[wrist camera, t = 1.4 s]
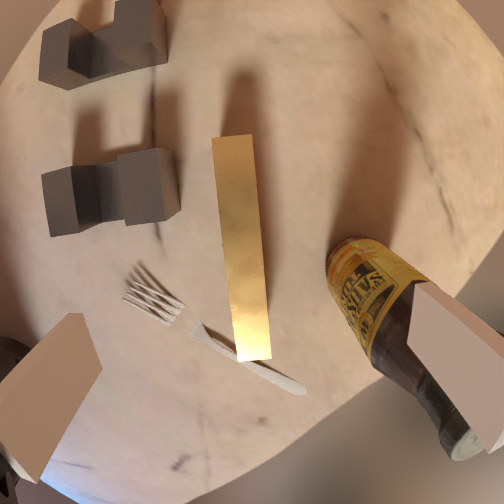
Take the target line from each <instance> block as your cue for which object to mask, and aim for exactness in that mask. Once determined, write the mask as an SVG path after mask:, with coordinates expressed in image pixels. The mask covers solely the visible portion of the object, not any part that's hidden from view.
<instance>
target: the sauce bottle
mask: <svg viewBox="0 0 504 504" xmlns="http://www.w3.org/2000/svg"><path fill="white" fill-rule="evenodd" d="M325 269H326V277H327V283H328V288H329V290H330V292H331V294H332V296H333V298H334V299H335V301H336V303H337V305H338V306H339V308H340V310H341V311H342V313H343V315H344V316H345V318H346V320H347V322H348V324H349V326H350V327H351V329H352V330H353V332H354V334H355V335H356V337H357V339H358V341H359V343H360V344H361V346H362V348H363V350H364V352H365V353H366V355H367V357H368V359H369V361H370V362H371V364H372V366H373V367H374V368H375V369H377V370H378V371H379V372H381V373H382V374H383V375H385V376H386V377H388V378H389V379H390V380H392V381H393V382H395V383H396V384H397V385H399V386H400V387H401V388H403V389H404V390H406V391H407V392H409V393H411V394H412V395H413V396H414V397H416V398H417V400H418V402H419V403H420V404H421V406H422V407H423V408H425V410H426V411H427V413H428V414H429V416H430V418H431V420H432V421H433V423H434V424H435V426H436V427H437V429H438V431H439V439H440V443H441V445H442V447H443V448H444V450H445V451H446V453H447V455H448V456H449V458H450V459H452V460H455V461H462V460H466V459H468V458H470V457H472V456H474V455H476V454H478V453H479V452H481V451H482V450H483V449H485V448H484V446H483V445H482V443H481V442H480V440H479V439H478V437H477V436H476V435H475V433H474V432H473V430H472V429H471V427H470V426H469V425H468V423H467V422H466V420H465V419H464V418H463V416H462V415H461V413H460V412H459V411H458V409H457V408H456V407H455V405H454V404H453V403H452V401H451V400H450V399H449V397H448V396H447V395H446V393H445V392H444V391H443V389H442V388H441V387H440V385H439V384H438V383H437V381H436V380H435V379H434V377H433V376H432V375H431V374H430V372H429V371H428V370H427V368H426V367H425V366H424V365H423V363H422V362H421V361H420V359H419V358H418V357H417V356H416V354H415V353H414V352H413V351H412V349H411V348H410V347H409V346H408V345H407V340H408V334H409V328H410V321H411V314H412V307H413V299H414V290H415V284H419V283H425V282H432V281H431V280H429V279H428V278H427V277H425V276H424V275H423V274H422V273H420V272H419V271H418V270H416V269H415V268H414V267H412V266H411V265H410V264H408V263H407V262H406V261H404V260H403V259H402V258H400V257H399V256H398V255H396V254H395V253H394V252H392V251H391V250H390V249H388V248H387V247H386V246H384V245H383V244H381V243H379V242H377V241H375V240H372V239H370V238H367V237H363V236H355V237H351V238H348V239H346V240H344V241H342V242H341V243H339V244H338V245H337V246H336V248H335V249H334V250H333V251H332V253H331V255H330V256H329V258H328V260H327V265H326V268H325ZM432 283H433V282H432ZM433 284H435V283H433ZM435 285H436V284H435ZM436 286H437V285H436ZM437 287H438V286H437Z"/></svg>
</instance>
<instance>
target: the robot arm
mask: <svg viewBox="0 0 504 504" xmlns="http://www.w3.org/2000/svg"><path fill="white" fill-rule="evenodd" d="M407 345H408V346H409V347H410V348H411V349H412V351H413V352H414V353H415V354H416V356H417V357H418V358H419V359H420V361H421V362H422V363H423V365H424V366H425V367H426V368H427V370H428V371H429V372H430V374H431V375H432V376H433V377H434V379H435V380H436V381H437V383H438V384H439V385H440V387H441V388H442V389H443V391H444V392H445V393H446V395H447V396H448V397H449V399H450V400H451V401H452V403H453V404H454V405H455V407H456V408H457V409H458V411H459V412H460V413H461V415H462V416H463V418H464V419H465V420H466V422H467V423H468V425H469V426H470V427H471V429H472V430H473V432H474V433H475V435H476V436H477V437H478V439H479V440H480V442H481V443H482V445H483V446H484V448H485V449H486V450H487V452H488V454H489V453H491V452H493V451H494V450H496V449H498V448H499V447H501V446H503V445H504V334H502V333H500V332H498V331H495V330H494V329H492V328H491V327H490V326H489V325H487V324H486V323H485V322H484V321H482V320H481V319H480V318H478V317H477V316H476V315H474V314H473V313H472V312H471V311H469V310H468V309H467V308H465V307H464V306H463V305H462V304H460V303H459V302H458V301H456V300H455V299H454V298H452V297H451V296H450V295H448V294H447V293H446V292H444V291H443V290H441V289H440V288H439V287H437V286H436V285H435V284H433V283H432V282H425V283H419V284H415V290H414V299H413V307H412V314H411V321H410V328H409V334H408V340H407ZM101 371H102V366H101V364H100V361H99V359H98V356H97V353H96V351H95V348H94V345H93V342H92V339H91V337H90V334H89V331H88V328H87V325H86V322H85V318H84V315H83V313H69V314H68V315H66V316H65V317H64V318H63V319H62V320H61V321H60V322H59V323H58V324H57V325H56V326H55V327H54V328H53V329H52V330H51V331H50V332H49V333H48V334H47V335H46V336H45V337H44V338H43V339H42V340H41V341H40V342H39V343H38V344H37V345H36V346H35V347H34V348H33V349H32V350H30V349H29V348H27V347H26V346H24V345H22V344H21V343H19V342H17V341H14V340H11V339H7V338H0V504H18V501H17V497H16V492H15V487H16V485H17V483H18V481H19V479H20V477H22V478H24V479H26V480H29V481H31V482H34V483H36V484H37V482H38V481H39V479H40V477H41V475H42V473H43V471H44V469H45V467H46V465H47V463H48V461H49V460H50V458H51V456H52V454H53V452H54V450H55V449H56V447H57V445H58V443H59V441H60V440H61V438H62V436H63V434H64V432H65V431H66V429H67V427H68V425H69V424H70V422H71V420H72V418H73V417H74V415H75V413H76V412H77V410H78V408H79V407H80V405H81V403H82V402H83V400H84V398H85V397H86V395H87V393H88V392H89V390H90V388H91V387H92V385H93V383H94V382H95V380H96V379H97V377H98V375H99V374H100V372H101Z"/></svg>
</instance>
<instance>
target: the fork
mask: <svg viewBox="0 0 504 504" xmlns="http://www.w3.org/2000/svg"><path fill="white" fill-rule="evenodd" d="M134 283H135V284H137V285H139V286H141V287H143V288H145V289H147V290H149V291H151V292H153V293H155V294H157V295H159V296H162V297H164V298H166V299H168V300H170V301H172V302H174V303H176V304H177V305H179V306H180V308H184V307H185V304H183V303H182V302H181V301H179V300H177V299H175V298H173V297H171V296H169V295H166V294H164V293H162V292H160V291H158V290H155V289H153V288H151V287H149V286H146V285H144V284H141V283H139V282H136V281H134ZM129 288H130V289H132V290H133V291H135V292H137V293H139V294H141V295H143V296H145V297H147V298H149V299H151V300H153V301H155V302H157V303H159V304H161V305H163V306H165V307H166V308H168V309H170V310H171V311H173V312H174V313H175V314H176V315H179V314H180V312H181V311H182V310H180V309H179V308H175V307H174V306H172V305H170V304H168V303H165V302H163V301H161V300H159V299H157V298H155V297H153V296H151V295H149V294H147V293H145V292H142V291H140V290H138V289H135V288H133V287H131V286H130V287H129ZM125 294H126V295H128V296H130V297H132V298H134V299H135V300H137V301H139V302H141V303H143V304H144V305H146V306H148V307H150V308H152V309H154V310H156V311H157V312H159V313H161V314H163V315H164V316H166V317H167V318H169V320H170V321H172V322H173V321H174V320H175V318H176V317H175V316H174V315H171V314H169V313H168V312H166V311H164V310H162V309H160V308H158V307H156V306H154V305H152V304H150V303H148V302H146V301H144V300H142V299H140V298H138V297H136V296H134V295H132V294H130V293H127V292H126V293H125ZM122 300H123V301H125V302H127V303H129V304H130V305H132V306H134V307H136V308H137V309H139V310H141V311H143V312H144V313H146V314H148V315H150V316H152V317H153V318H155V319H157V320H158V321H160V322H162V323H163V324H165V325H167V326H170V325H171V324H170V322H167V321H165V320H164V319H163V318H161V317H159V316H157V315H155V314H154V313H152V312H150V311H148V310H146V309H144V308H143V307H141V306H139V305H137V304H135V303H133V302H131V301H129V300H127V299H125V298H122ZM189 336H193V337H196V338H198V339H200V340H202V341H204V342H205V343H207V344H208V345H209V346H211V347H212V348H214V349H215V350H217V351H219V352H220V353H222V354H224V355H225V356H227V357H229V358H231V359H233V360H234V361H236V362H238V363H240V364H242V365H243V366H245V367H247V368H249V369H250V370H252V371H254V372H256V373H257V374H259V375H260V376H262V377H264V378H265V379H267V380H269V381H271V382H272V383H274V384H276V385H278V386H279V387H281V388H283V389H285V390H286V391H288V392H290V393H293V394H296V395H306V394H307V393H308V392H307V389H306V387H304V386H303V385H302V384H300V383H299V382H297V381H295V380H293V379H291V378H289V377H287V376H285V375H283V374H280V373H278V372H276V371H274V370H271V369H269V368H266V367H264V366H261V365H259V364H257V363H254V362H252V361H250V360H249V361H238V356H237V354H235V353H233V352H231V351H229V350H227V349H226V348H224V347H222V346H221V345H219V344H218V343H217V342H216V341H214V340H213V339H212V338H211V337H210V336H209V334H208V333H207V331H206V329H205V327H204V324H203V323H202V321H201V320H200V321H199V322H198V323H197V324H196V325H195V327H194V328H193V329H192V330H191V332H190V333H189Z"/></svg>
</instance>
